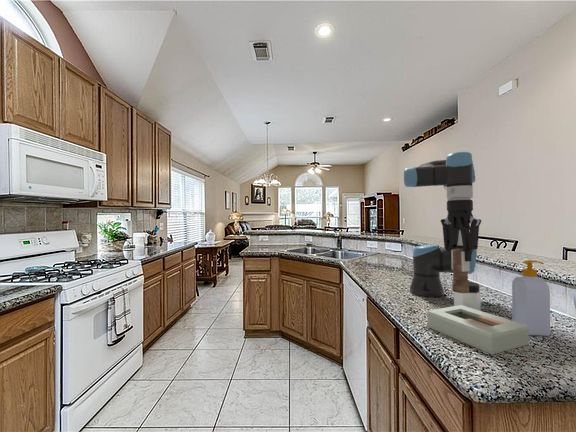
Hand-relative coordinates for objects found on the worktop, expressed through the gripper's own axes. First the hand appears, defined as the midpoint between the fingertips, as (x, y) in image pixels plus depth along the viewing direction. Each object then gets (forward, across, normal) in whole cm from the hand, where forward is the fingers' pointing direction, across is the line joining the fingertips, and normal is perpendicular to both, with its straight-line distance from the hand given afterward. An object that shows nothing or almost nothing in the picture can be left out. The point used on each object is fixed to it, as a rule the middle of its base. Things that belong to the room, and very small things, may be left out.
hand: (460, 270), depth 99 cm
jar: (+20, -10, +15) cm, 27 cm away
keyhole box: (+20, +4, 0) cm, 21 cm away
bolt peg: (+7, 0, 0) cm, 7 cm away
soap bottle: (+20, +9, +20) cm, 30 cm away
